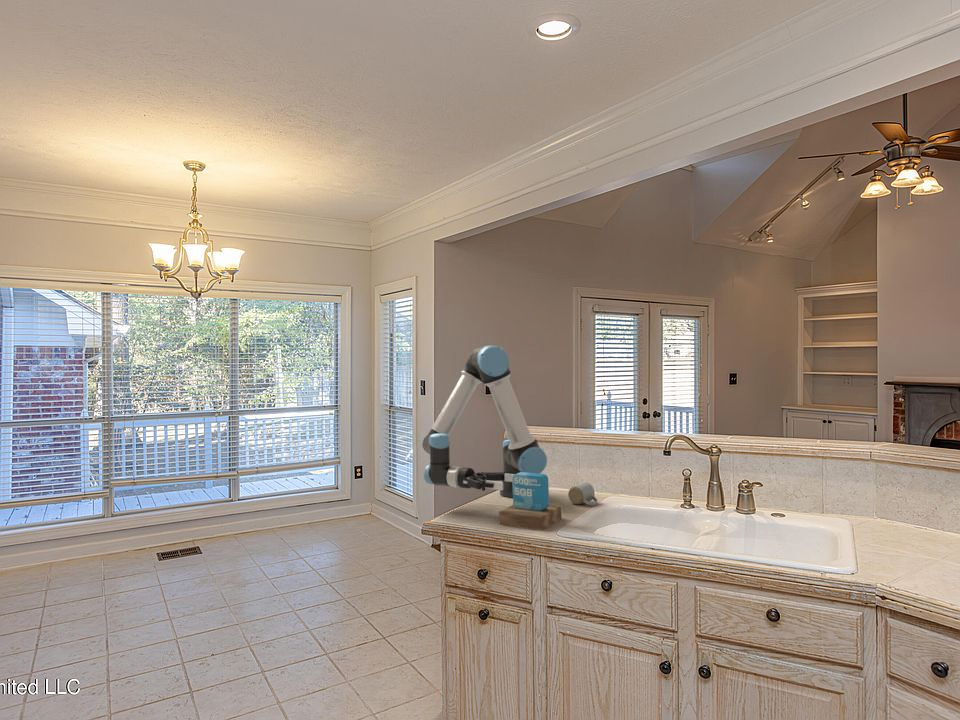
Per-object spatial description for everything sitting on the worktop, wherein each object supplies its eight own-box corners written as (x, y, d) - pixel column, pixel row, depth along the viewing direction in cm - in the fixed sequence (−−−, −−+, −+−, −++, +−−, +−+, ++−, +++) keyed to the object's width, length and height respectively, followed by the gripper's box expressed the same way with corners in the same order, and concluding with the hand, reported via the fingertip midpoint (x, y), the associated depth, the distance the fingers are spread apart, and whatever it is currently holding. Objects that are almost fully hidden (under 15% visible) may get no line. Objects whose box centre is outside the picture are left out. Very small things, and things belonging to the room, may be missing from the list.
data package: (512, 508, 213) (511, 473, 213) (518, 505, 217) (517, 471, 217) (543, 511, 207) (542, 476, 207) (549, 508, 211) (548, 474, 211)
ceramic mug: (566, 503, 236) (566, 483, 236) (578, 499, 242) (578, 480, 242) (590, 508, 229) (590, 488, 229) (601, 504, 235) (601, 484, 235)
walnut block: (521, 514, 223) (521, 501, 223) (561, 520, 215) (561, 506, 215) (499, 525, 209) (499, 511, 209) (541, 532, 201) (541, 516, 201)
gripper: (479, 481, 237) (527, 486, 226) (442, 494, 216) (494, 500, 205) (478, 461, 237) (527, 465, 226) (442, 473, 216) (494, 478, 205)
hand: (512, 482), depth 215 cm, fingers open, 13 cm apart
